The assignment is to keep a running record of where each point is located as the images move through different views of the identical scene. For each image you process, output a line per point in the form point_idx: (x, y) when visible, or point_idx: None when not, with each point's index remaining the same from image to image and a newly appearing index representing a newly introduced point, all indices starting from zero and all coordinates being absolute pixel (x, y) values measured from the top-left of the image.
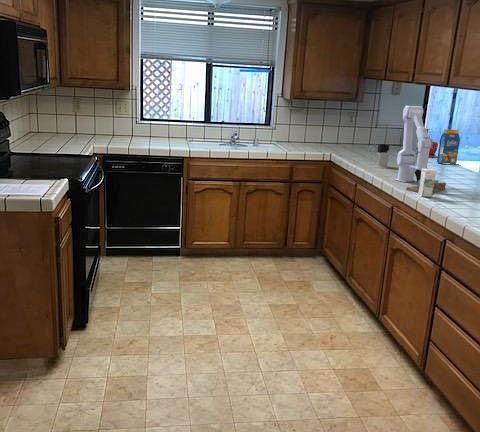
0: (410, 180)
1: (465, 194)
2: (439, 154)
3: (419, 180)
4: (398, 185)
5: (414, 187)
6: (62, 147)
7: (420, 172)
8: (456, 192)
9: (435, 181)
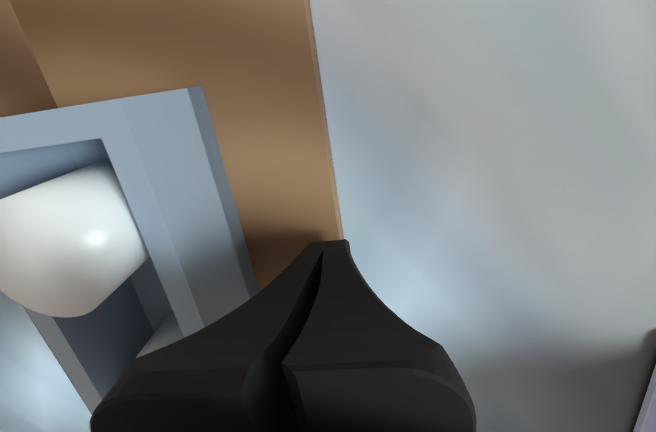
0: (651, 428)
1: (9, 419)
2: None
3: (125, 144)
4: (623, 59)
5: (220, 40)
6: None
7: (137, 392)
8: (83, 416)
9: (95, 398)
